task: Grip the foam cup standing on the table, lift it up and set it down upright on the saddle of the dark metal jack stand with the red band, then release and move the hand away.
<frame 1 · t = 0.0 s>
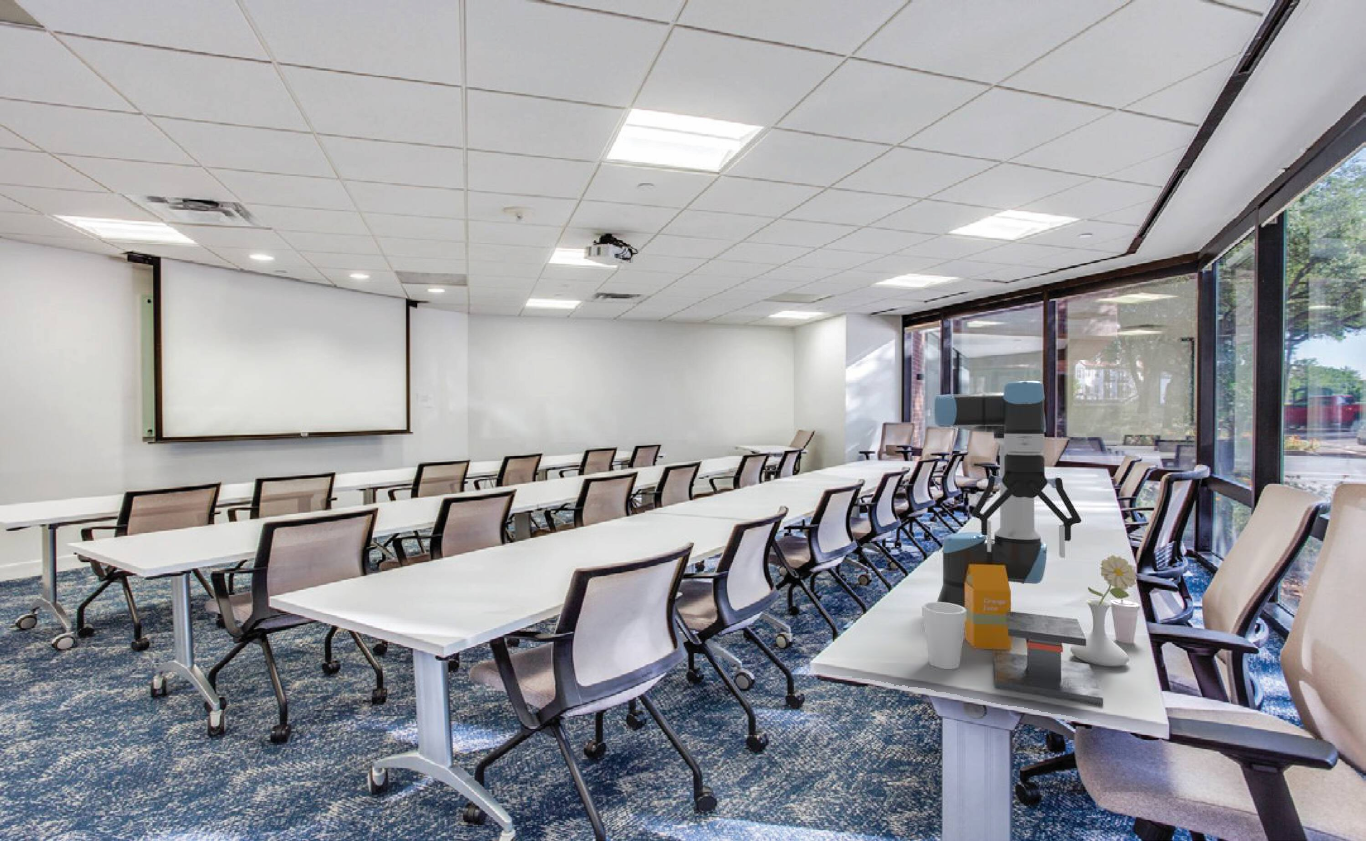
hand: (1024, 553, 132), 28 cm above the table, tool pointing down, fingers open, 13 cm apart
foam cup: (944, 664, 143), on the table
orange juice: (987, 644, 156), on the table
smoothie: (1124, 641, 158), on the table
flower in vase: (1103, 662, 144), on the table
jack stand: (1043, 678, 135), on the table
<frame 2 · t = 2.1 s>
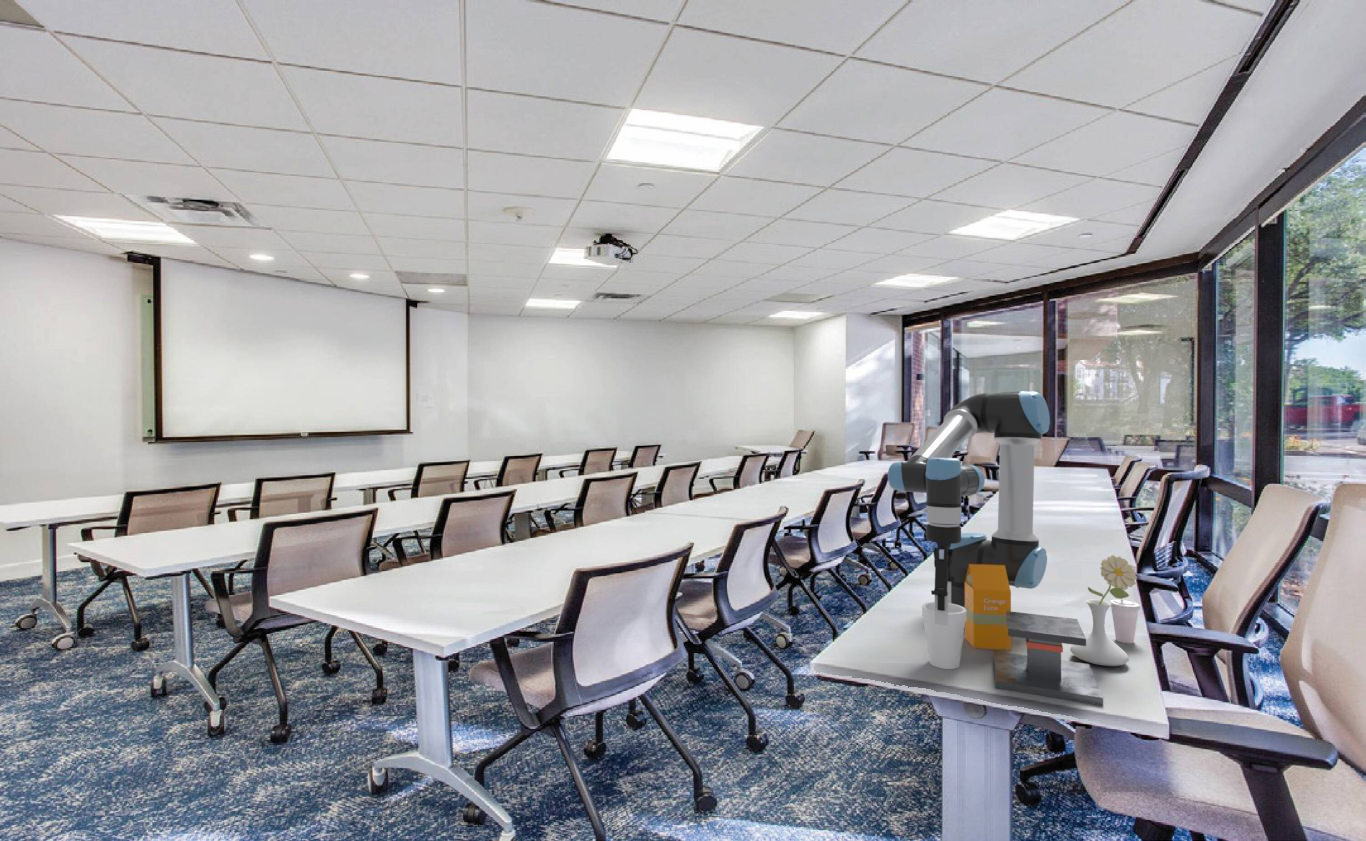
hand: (943, 616, 143), 11 cm above the table, tool pointing down, fingers open, 13 cm apart
nothing on the table moved.
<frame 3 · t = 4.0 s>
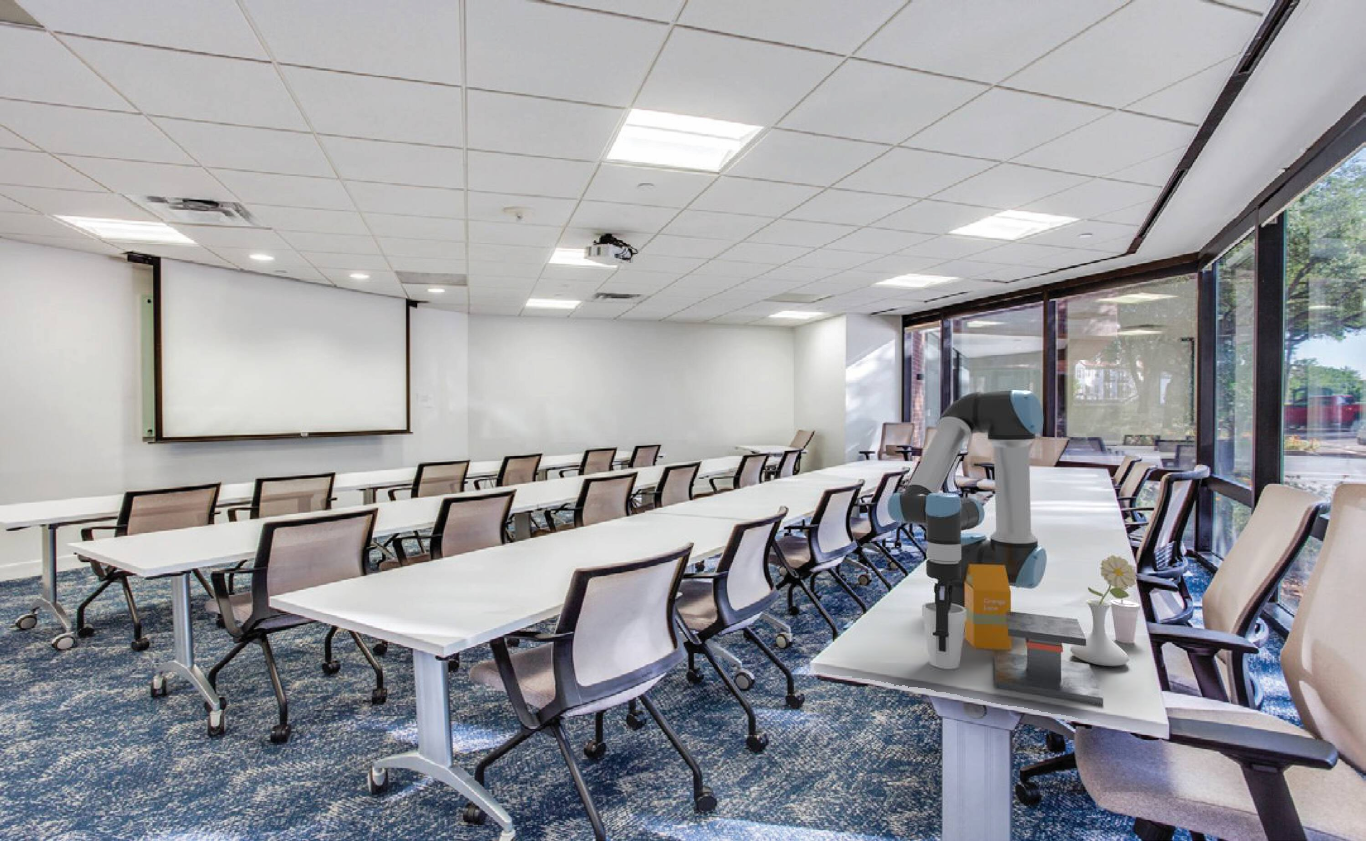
hand: (944, 656, 143), 2 cm above the table, tool pointing down, fingers closed on foam cup, 9 cm apart
foam cup: (944, 664, 143), on the table, touching gripper
everything else where it was.
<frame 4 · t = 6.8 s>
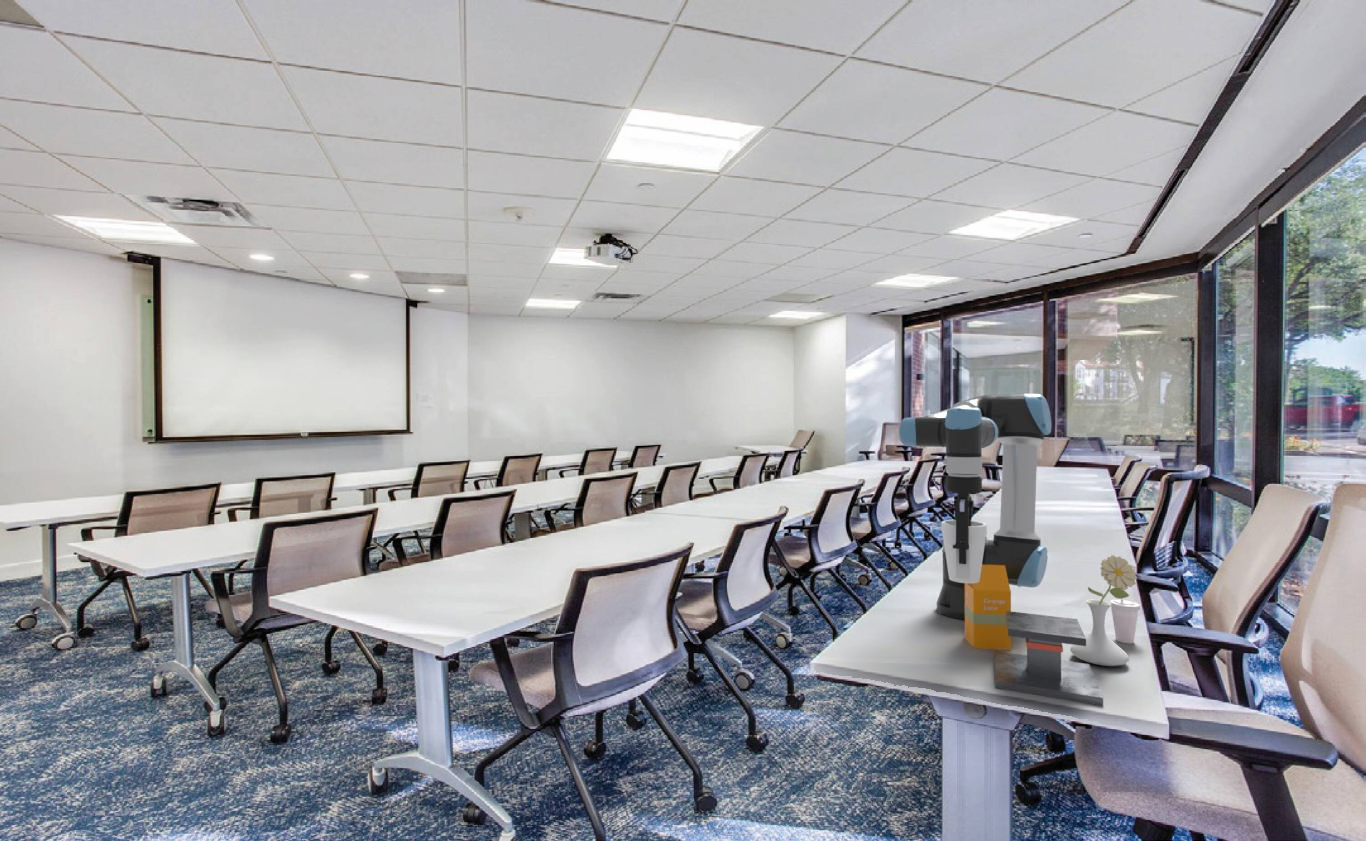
hand: (964, 572, 142), 21 cm above the table, tool pointing down, fingers closed on foam cup, 9 cm apart
foam cup: (964, 580, 142), point 20 cm above the table, touching gripper
everything else where it was.
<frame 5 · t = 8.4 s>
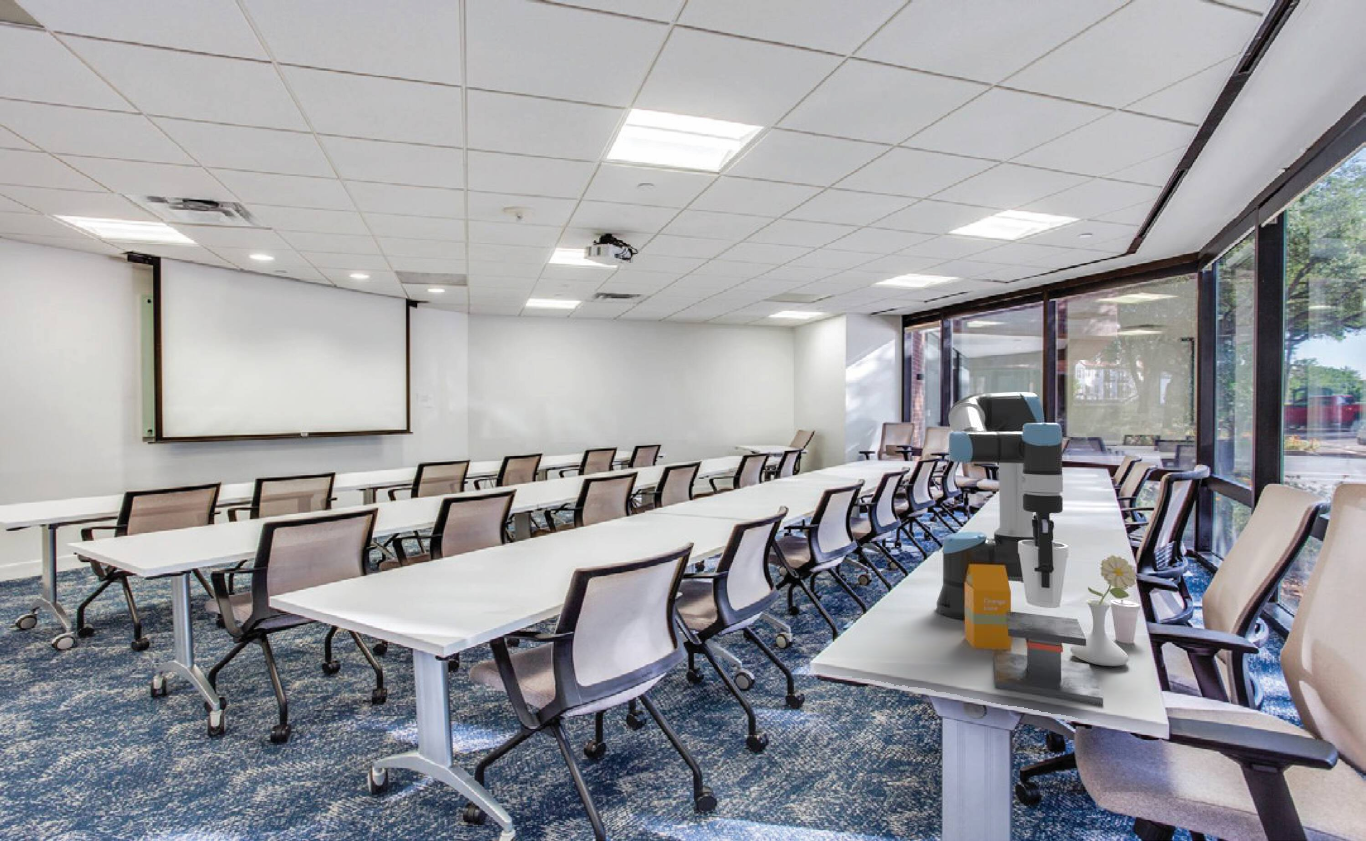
hand: (1043, 596, 135), 18 cm above the table, tool pointing down, fingers closed on foam cup, 9 cm apart
foam cup: (1043, 604, 135), point 16 cm above the table, touching gripper
everything else where it was.
when the fingers open (15 cm above the table, at t = 9.8 s): foam cup drops 1 cm, resting on jack stand.
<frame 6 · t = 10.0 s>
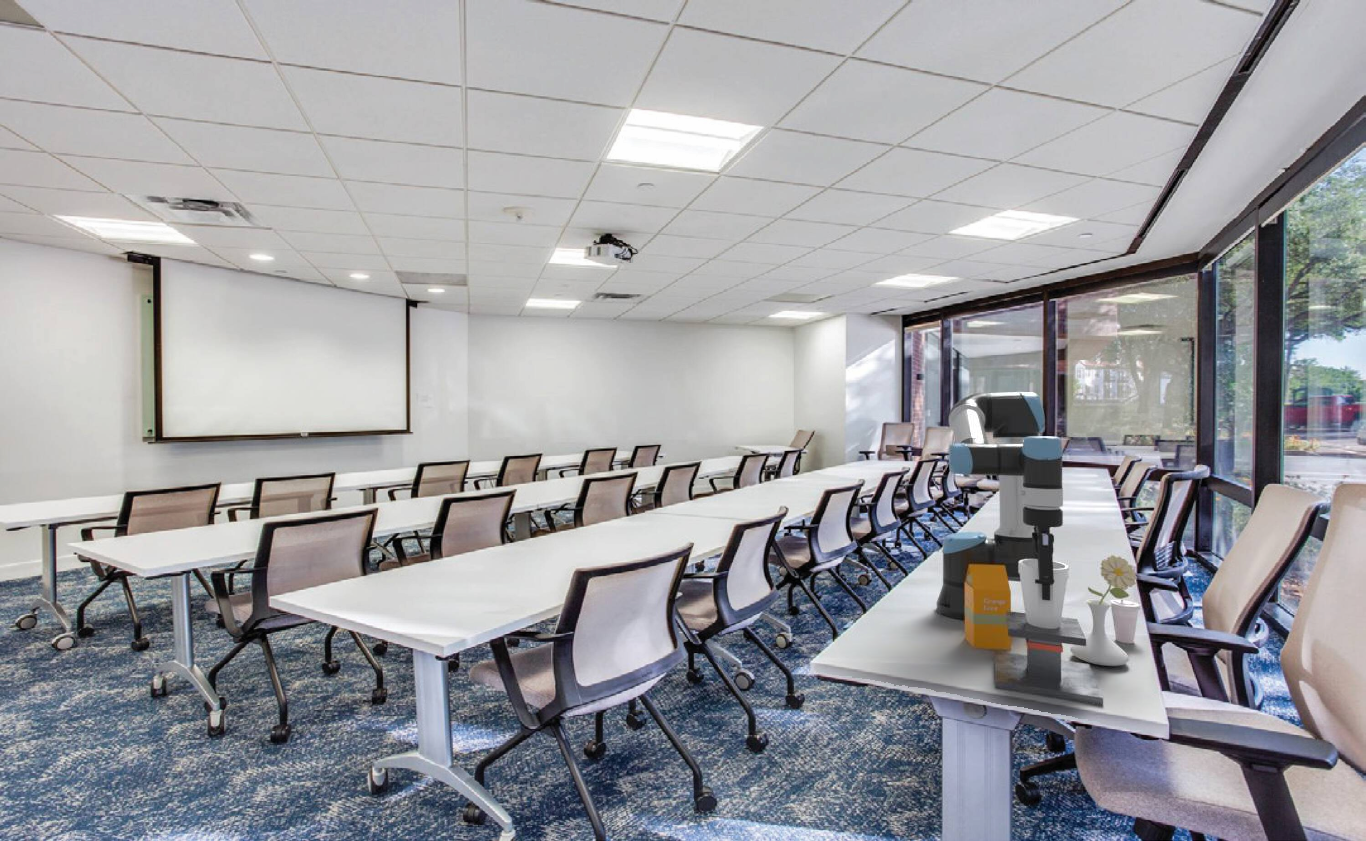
hand: (1043, 606, 135), 16 cm above the table, tool pointing down, fingers open, 11 cm apart
foam cup: (1043, 624, 135), point 12 cm above the table, touching jack stand
everything else where it was.
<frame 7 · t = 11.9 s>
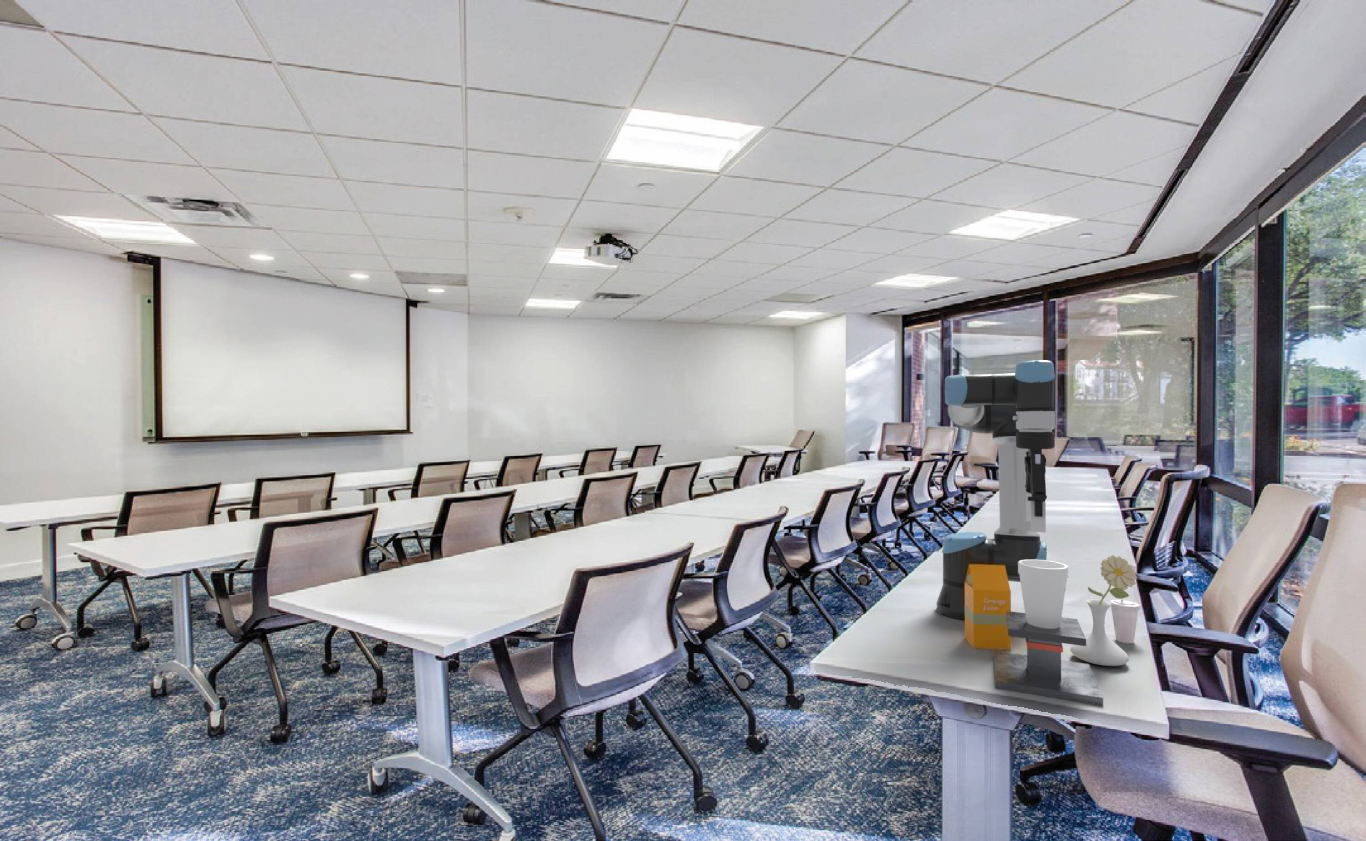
hand: (1035, 526, 137), 33 cm above the table, tool pointing down, fingers open, 13 cm apart
nothing on the table moved.
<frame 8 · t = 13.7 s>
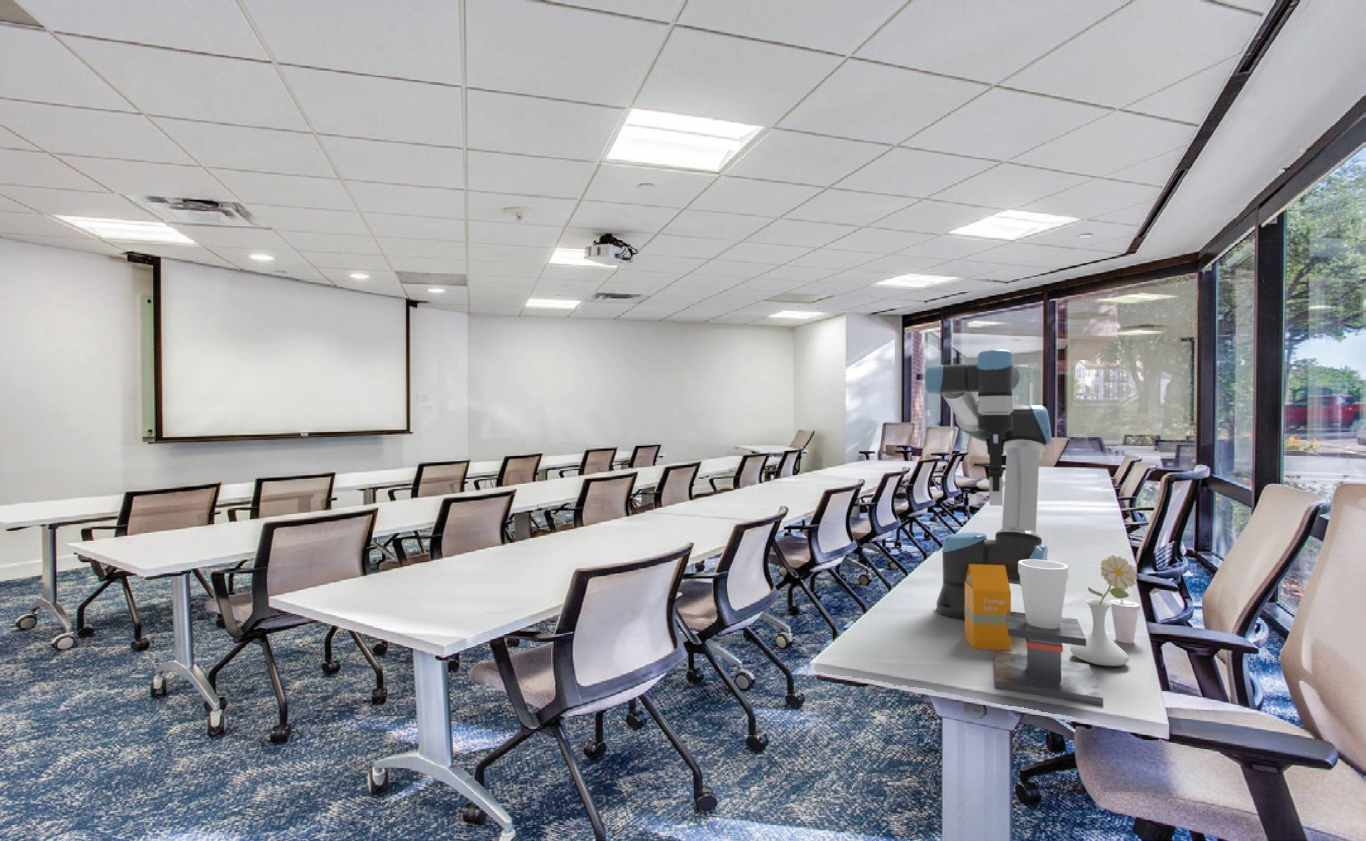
hand: (995, 502, 149), 37 cm above the table, tool pointing down, fingers open, 13 cm apart
nothing on the table moved.
at the end: foam cup inside the target area on the jack stand (0.0 cm from its centre), point 11.8 cm above the jack stand's base; foam cup tilted 0°; the gripper is holding nothing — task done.
